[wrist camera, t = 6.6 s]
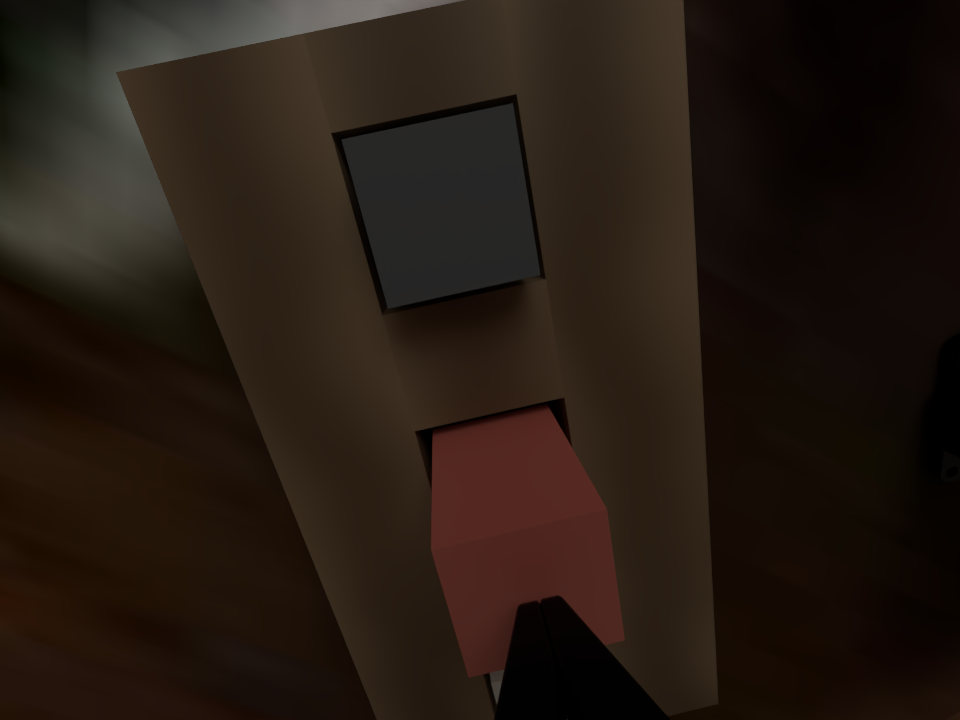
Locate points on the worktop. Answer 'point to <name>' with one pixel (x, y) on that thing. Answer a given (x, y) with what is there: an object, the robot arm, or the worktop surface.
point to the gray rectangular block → (445, 205)
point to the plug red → (517, 531)
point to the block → (459, 309)
